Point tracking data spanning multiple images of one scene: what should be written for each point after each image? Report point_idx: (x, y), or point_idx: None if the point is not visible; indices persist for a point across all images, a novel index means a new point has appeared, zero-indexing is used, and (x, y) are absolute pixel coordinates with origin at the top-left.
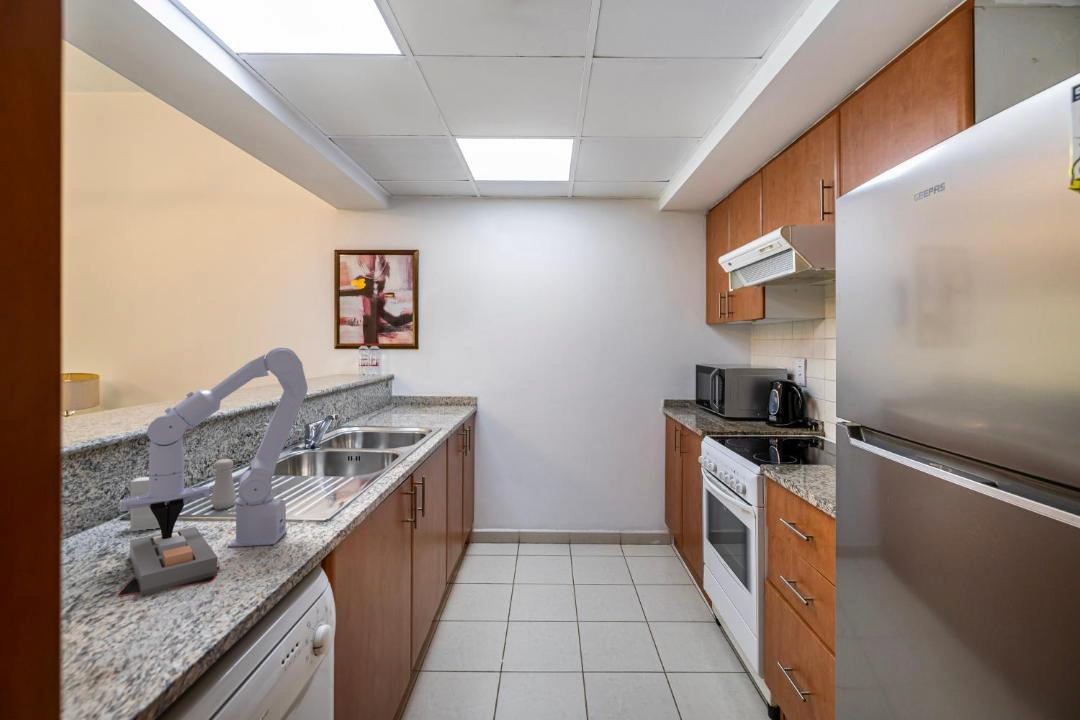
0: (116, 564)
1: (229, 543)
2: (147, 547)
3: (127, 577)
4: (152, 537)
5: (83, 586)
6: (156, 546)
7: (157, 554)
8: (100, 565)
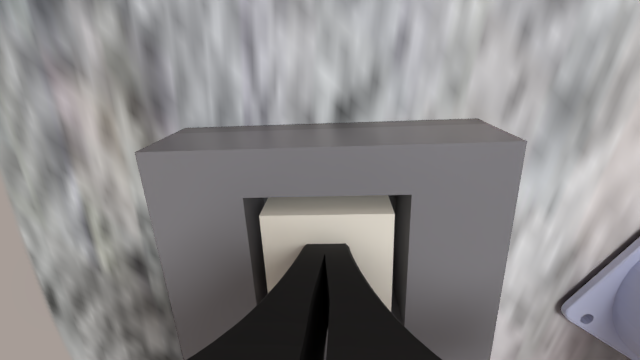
0: None
1: (579, 303)
2: None
3: None
4: (256, 193)
5: (86, 334)
6: None
7: None
8: (82, 154)
